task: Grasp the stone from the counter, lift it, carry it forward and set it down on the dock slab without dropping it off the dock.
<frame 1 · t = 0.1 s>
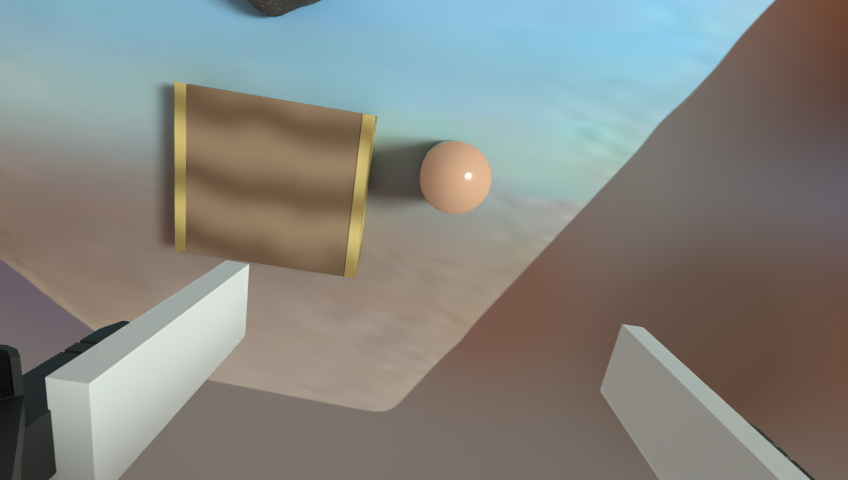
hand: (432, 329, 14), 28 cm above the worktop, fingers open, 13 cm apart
peach rounded capsule: (450, 170, 40), on the worktop
dock: (279, 182, 40), on the worktop
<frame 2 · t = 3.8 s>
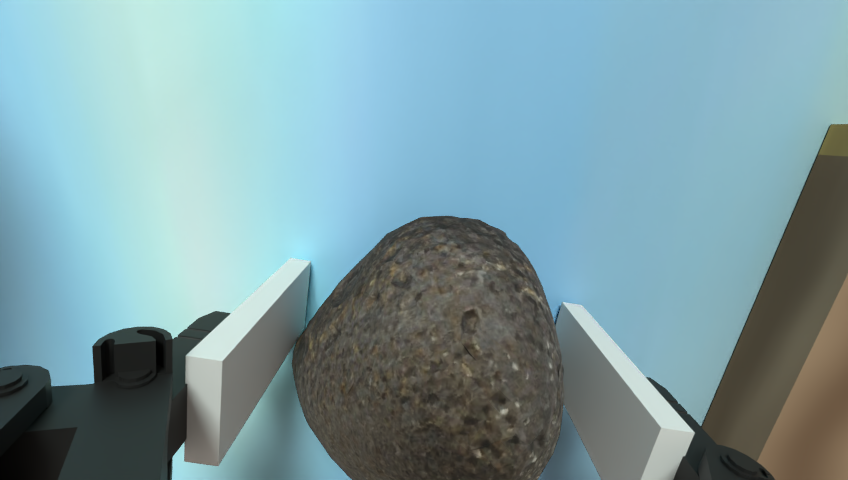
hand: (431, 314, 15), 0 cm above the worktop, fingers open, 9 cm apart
stone: (426, 325, 16), on the worktop
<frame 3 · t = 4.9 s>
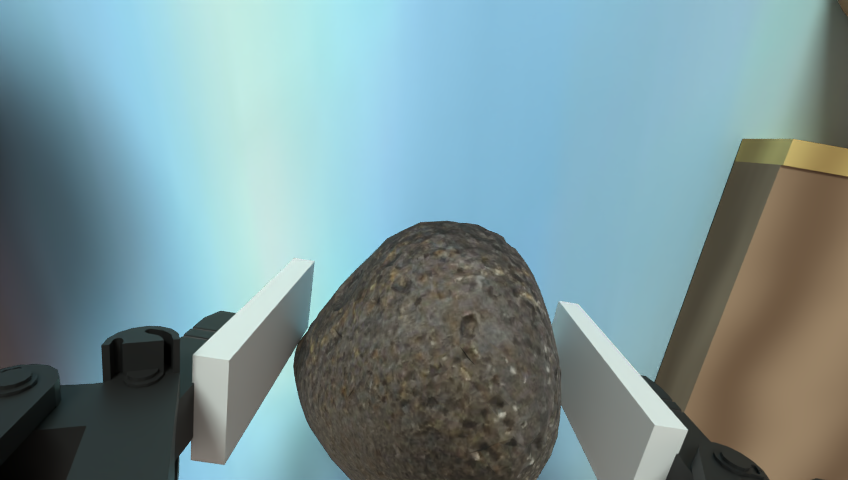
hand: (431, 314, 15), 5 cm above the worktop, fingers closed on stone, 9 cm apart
dock: (831, 346, 20), on the worktop
stone: (426, 328, 16), point 4 cm above the worktop, touching gripper
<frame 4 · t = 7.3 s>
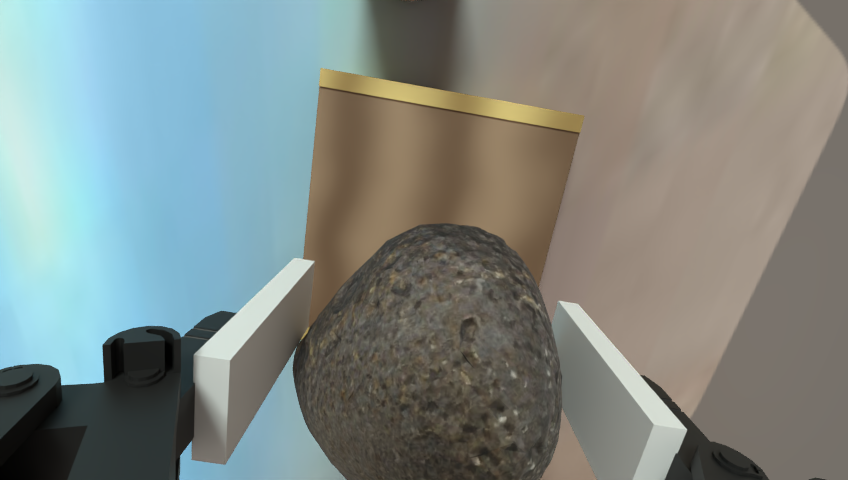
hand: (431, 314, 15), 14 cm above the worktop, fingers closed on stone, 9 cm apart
dock: (428, 226, 29), on the worktop
stone: (426, 330, 16), point 13 cm above the worktop, touching gripper
when the fingers open (5 cm above the worktop, at t = 9.7 s): stone drops 2 cm, resting on dock.
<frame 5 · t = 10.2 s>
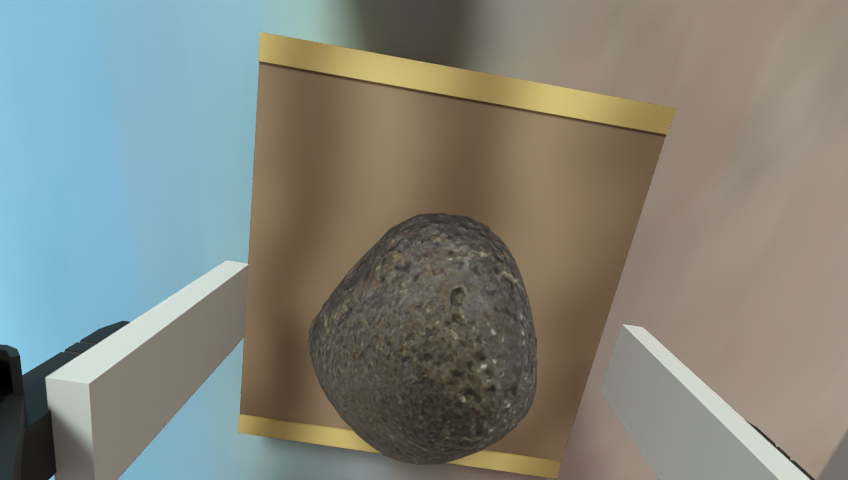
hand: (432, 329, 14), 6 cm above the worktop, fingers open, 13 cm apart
dock: (430, 269, 20), on the worktop
stone: (424, 309, 18), point 2 cm above the worktop, touching dock
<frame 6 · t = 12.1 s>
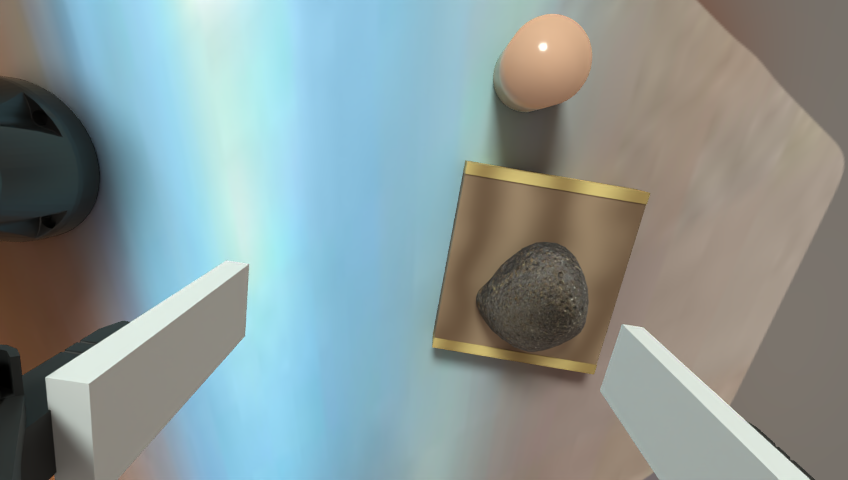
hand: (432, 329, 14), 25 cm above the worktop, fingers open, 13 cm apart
peach rounded capsule: (527, 76, 35), on the worktop
dock: (528, 266, 39), on the worktop
stone: (528, 286, 37), point 2 cm above the worktop, touching dock
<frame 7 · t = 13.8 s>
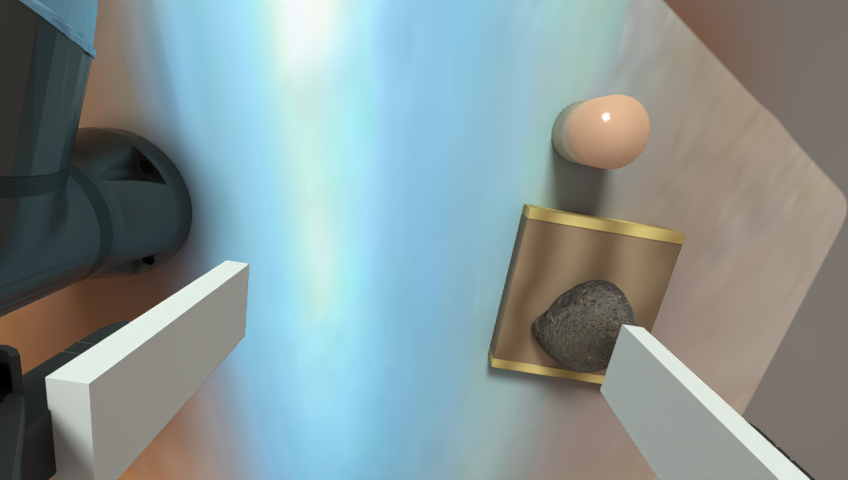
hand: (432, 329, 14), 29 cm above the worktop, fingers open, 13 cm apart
peach rounded capsule: (581, 132, 40), on the worktop
dock: (575, 294, 44), on the worktop
stone: (576, 314, 43), point 2 cm above the worktop, touching dock
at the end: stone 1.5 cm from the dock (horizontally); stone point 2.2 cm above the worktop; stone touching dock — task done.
